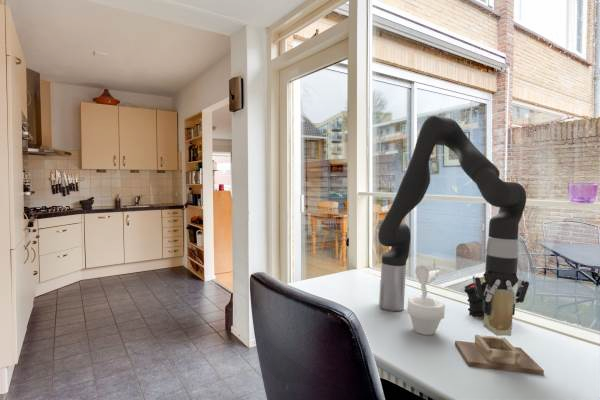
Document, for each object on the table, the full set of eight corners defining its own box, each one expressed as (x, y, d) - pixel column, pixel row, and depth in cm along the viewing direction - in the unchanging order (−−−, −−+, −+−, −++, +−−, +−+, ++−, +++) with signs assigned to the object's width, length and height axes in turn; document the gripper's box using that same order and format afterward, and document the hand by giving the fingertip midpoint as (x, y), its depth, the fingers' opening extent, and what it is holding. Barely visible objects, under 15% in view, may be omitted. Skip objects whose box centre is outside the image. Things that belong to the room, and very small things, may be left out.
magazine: (510, 314, 128) (496, 277, 128) (478, 328, 128) (463, 291, 127) (504, 310, 132) (490, 275, 131) (473, 324, 132) (458, 288, 131)
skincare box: (482, 326, 99) (485, 284, 99) (497, 326, 99) (499, 284, 99) (497, 336, 93) (499, 291, 92) (512, 336, 93) (515, 291, 93)
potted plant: (425, 341, 105) (430, 260, 104) (398, 327, 116) (402, 252, 115) (454, 335, 111) (458, 257, 110) (425, 322, 121) (429, 251, 121)
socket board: (468, 365, 91) (469, 350, 91) (454, 344, 104) (455, 330, 104) (543, 375, 88) (544, 358, 88) (520, 351, 101) (521, 337, 101)
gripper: (478, 254, 93) (474, 317, 93) (537, 258, 91) (533, 323, 91) (469, 250, 100) (466, 308, 101) (523, 253, 98) (520, 313, 98)
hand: (498, 315), depth 96 cm, fingers closed on skincare box, 5 cm apart
